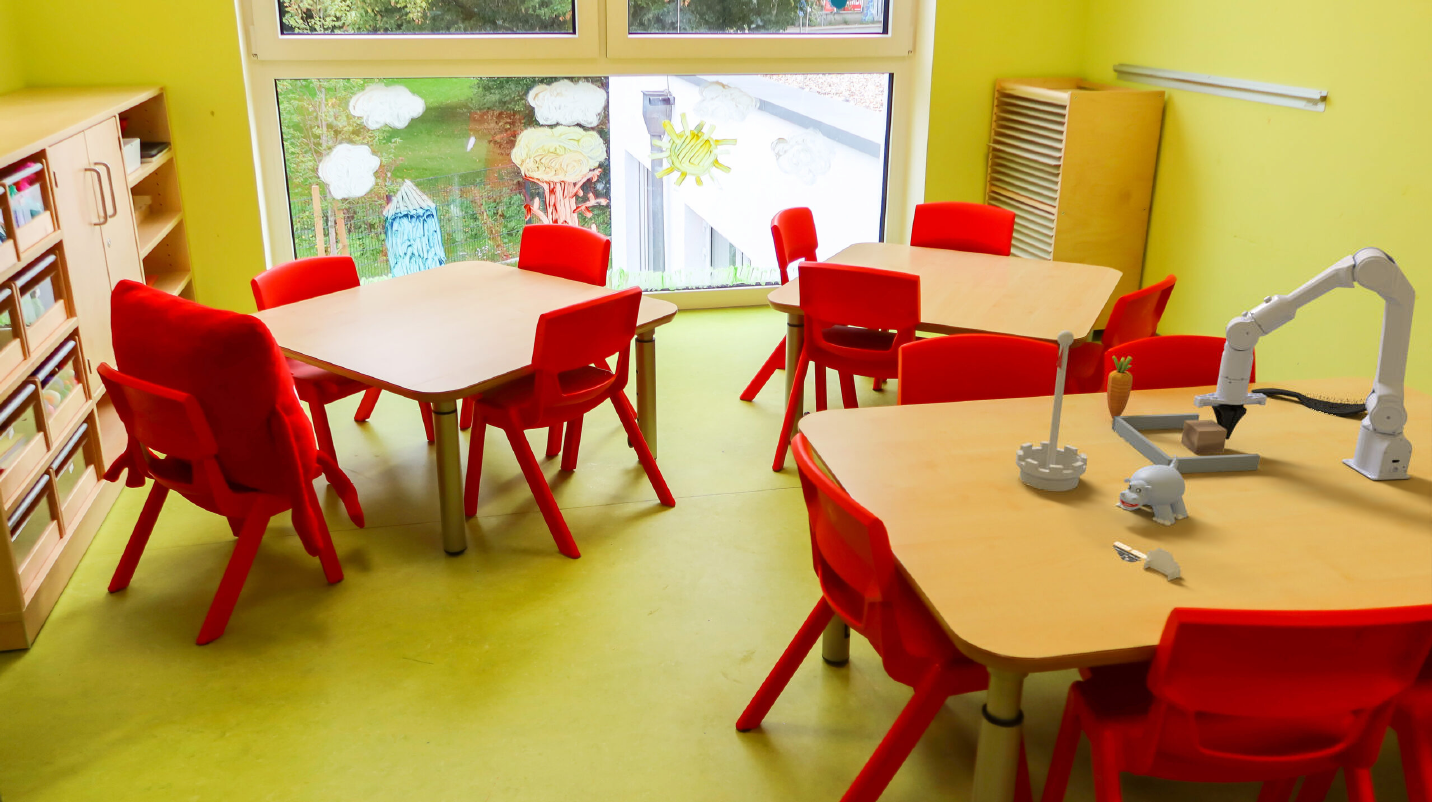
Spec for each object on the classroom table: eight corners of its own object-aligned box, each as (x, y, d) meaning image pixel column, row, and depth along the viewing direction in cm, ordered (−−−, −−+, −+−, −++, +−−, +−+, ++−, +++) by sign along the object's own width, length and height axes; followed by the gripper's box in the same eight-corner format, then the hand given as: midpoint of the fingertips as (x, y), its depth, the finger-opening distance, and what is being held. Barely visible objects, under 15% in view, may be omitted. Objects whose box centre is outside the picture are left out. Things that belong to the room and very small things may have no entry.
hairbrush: (1258, 377, 264) (1376, 397, 248) (1257, 392, 265) (1373, 412, 249) (1246, 386, 258) (1365, 406, 242) (1244, 401, 259) (1363, 422, 243)
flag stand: (1025, 461, 222) (1040, 317, 212) (1091, 474, 216) (1110, 327, 205) (1005, 483, 211) (1020, 334, 201) (1074, 499, 205) (1093, 344, 195)
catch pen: (1257, 469, 218) (1260, 455, 217) (1166, 473, 216) (1168, 459, 215) (1195, 425, 240) (1197, 413, 239) (1111, 429, 238) (1113, 416, 237)
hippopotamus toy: (1096, 513, 200) (1103, 465, 196) (1144, 492, 208) (1151, 446, 205) (1150, 535, 191) (1157, 485, 188) (1197, 512, 200) (1205, 464, 197)
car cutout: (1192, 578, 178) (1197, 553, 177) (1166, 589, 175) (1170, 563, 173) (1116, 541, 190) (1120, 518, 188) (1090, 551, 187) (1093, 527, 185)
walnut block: (1223, 452, 226) (1227, 430, 224) (1195, 453, 226) (1198, 431, 224) (1208, 441, 232) (1212, 419, 230) (1180, 442, 231) (1184, 420, 230)
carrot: (1098, 418, 245) (1106, 354, 239) (1115, 415, 247) (1123, 351, 241) (1114, 425, 240) (1123, 360, 235) (1131, 422, 242) (1140, 357, 237)
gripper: (1256, 368, 228) (1245, 429, 233) (1190, 370, 227) (1180, 431, 232) (1276, 379, 222) (1265, 441, 226) (1208, 381, 220) (1198, 444, 225)
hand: (1223, 437), depth 229 cm, fingers closed
